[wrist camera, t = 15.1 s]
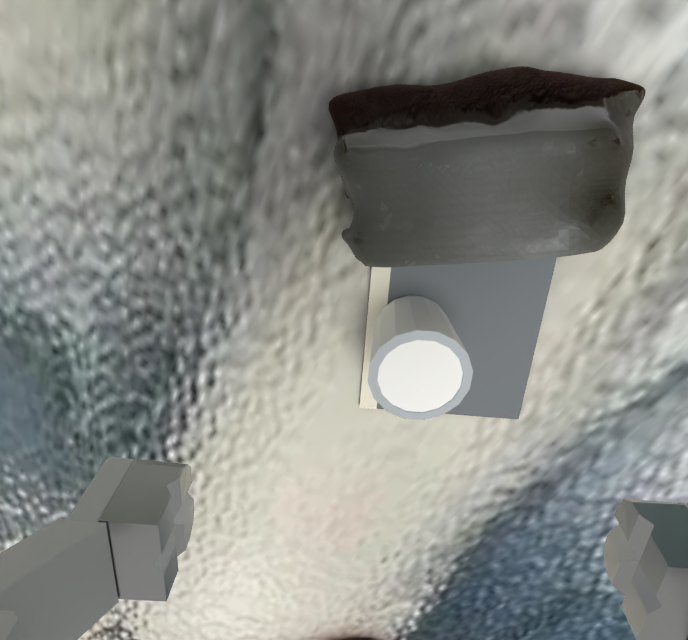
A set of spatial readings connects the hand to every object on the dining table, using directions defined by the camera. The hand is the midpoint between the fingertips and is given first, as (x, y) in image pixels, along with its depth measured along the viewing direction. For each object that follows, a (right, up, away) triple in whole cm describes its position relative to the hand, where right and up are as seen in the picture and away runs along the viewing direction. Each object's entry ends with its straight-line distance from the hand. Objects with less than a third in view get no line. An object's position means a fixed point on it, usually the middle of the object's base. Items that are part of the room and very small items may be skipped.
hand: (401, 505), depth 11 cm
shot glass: (+4, +3, +33) cm, 33 cm away
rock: (+7, +14, +28) cm, 32 cm away
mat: (+7, +2, +33) cm, 34 cm away
